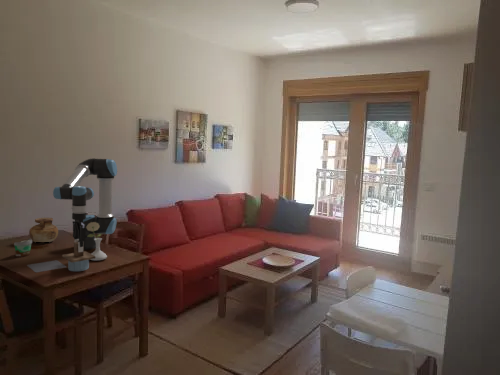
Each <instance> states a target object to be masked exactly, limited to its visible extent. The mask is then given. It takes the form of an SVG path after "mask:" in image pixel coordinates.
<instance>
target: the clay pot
mask: <svg viewBox="0 0 500 375" xmlns="http://www.w3.org/2000/svg"><path fill="white" fill-rule="evenodd" d="M34 222H35V225H33V226H31V227H30V229H29V232H28V234H29V238H30V239H31V240H32V242H34V243H36V242H49V243H51V242H53V241H54V240H56V238H57V237H58V235H59V229H58V226H56V225H54V224H53V222H54V219H53V218H52V217H37V218H35V219H34Z"/></svg>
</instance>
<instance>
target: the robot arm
mask: <svg viewBox="0 0 500 375" xmlns="http://www.w3.org/2000/svg"><path fill="white" fill-rule="evenodd" d="M74 170H75V171H73V173H72V174H71V175H70V177H68V178H67V179H66V181H65V182H64V183H63V184H62V186H56V187H54V188H53V191H52V195H53V198H54V199H56V200H69V201H71V200H72V201H71V203H72V204H71V212H72V213H71V219H72V220H73V221H72V238H73V239H74V242H78V252H83V243H84V251H89V250H94V249H96V242H95V240H94V239H95V238H96V237H95V236H93V237H87V236H88V235H89V234H93V235H95V234H96V235H99V234H101V233H102V235H112V234H113V233H114V232H115V230H116V228H117V222H118V221H117V218H116V217H115V215H114V214H113V213H112V210H113V208H112V205H113V203H112V202H113V201H112V198H113V180H114V179H115V176H117V175H118V166H117V163H116V161H115V160H114V159H110V158H88V159H85V160H83V161H82V162H80V163H79V164H78V165H77V166H76V167H75V169H74ZM91 175H92V176H96V179H97V180H98V213H97V214H96V216H95V214H87V213H86V212H87V201H89V200H91V199H93V197H94V196H95V192H94V189H92V188H91V187H86V186H83V185H81V183H82V182H83V181H84V179H85V178H87V177H89V176H91ZM91 222H92V223H93V222H96V223H98V224H99V229H98V230H96V231H94V233H93V231H89V230H87V228H86V226H87V225H88V224H89V223H91Z"/></svg>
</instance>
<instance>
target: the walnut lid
mask: <svg viewBox="0 0 500 375" xmlns="http://www.w3.org/2000/svg"><path fill="white" fill-rule="evenodd" d="M61 257H62V258H63V259H65V260H67V262H68V261H70V262H71V263H72V262H78V261H83V260H89V261H90V259H95V256H94V255H92V253H90V252H88V251H87V250H84V243H83V252H78V242H75V241H74V242H73V252H72V253H66V254H61Z"/></svg>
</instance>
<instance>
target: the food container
mask: <svg viewBox="0 0 500 375" xmlns="http://www.w3.org/2000/svg"><path fill="white" fill-rule="evenodd" d="M32 244H33V240H32V239H31V238H30V237H29V238H28V237H27V239H26V240H20V241H19V242H18V241H14V243H13V246H14V251H15V257H16V258H26V257H28V256H29V257H30V255H31V249H32Z"/></svg>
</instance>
